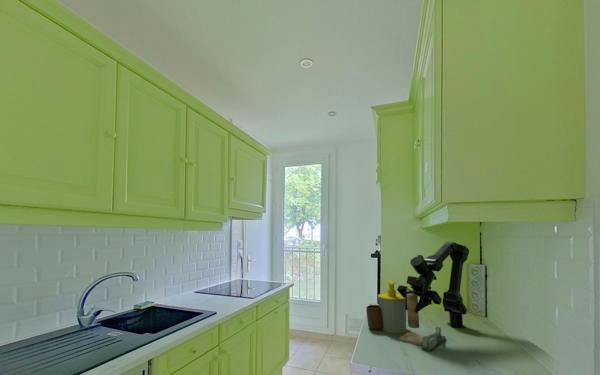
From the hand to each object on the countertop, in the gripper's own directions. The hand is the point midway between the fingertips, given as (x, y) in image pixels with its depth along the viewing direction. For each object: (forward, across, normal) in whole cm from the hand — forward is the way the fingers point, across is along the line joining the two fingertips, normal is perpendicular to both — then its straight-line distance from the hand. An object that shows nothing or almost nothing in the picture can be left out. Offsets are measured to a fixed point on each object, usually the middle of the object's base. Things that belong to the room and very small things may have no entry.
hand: (410, 310), depth 129 cm
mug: (+7, -22, +9) cm, 25 cm away
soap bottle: (+4, -15, +13) cm, 20 cm away
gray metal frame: (+6, +7, +10) cm, 14 cm away
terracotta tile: (+8, 0, +9) cm, 12 cm away
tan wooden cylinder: (+4, 0, +6) cm, 7 cm away
